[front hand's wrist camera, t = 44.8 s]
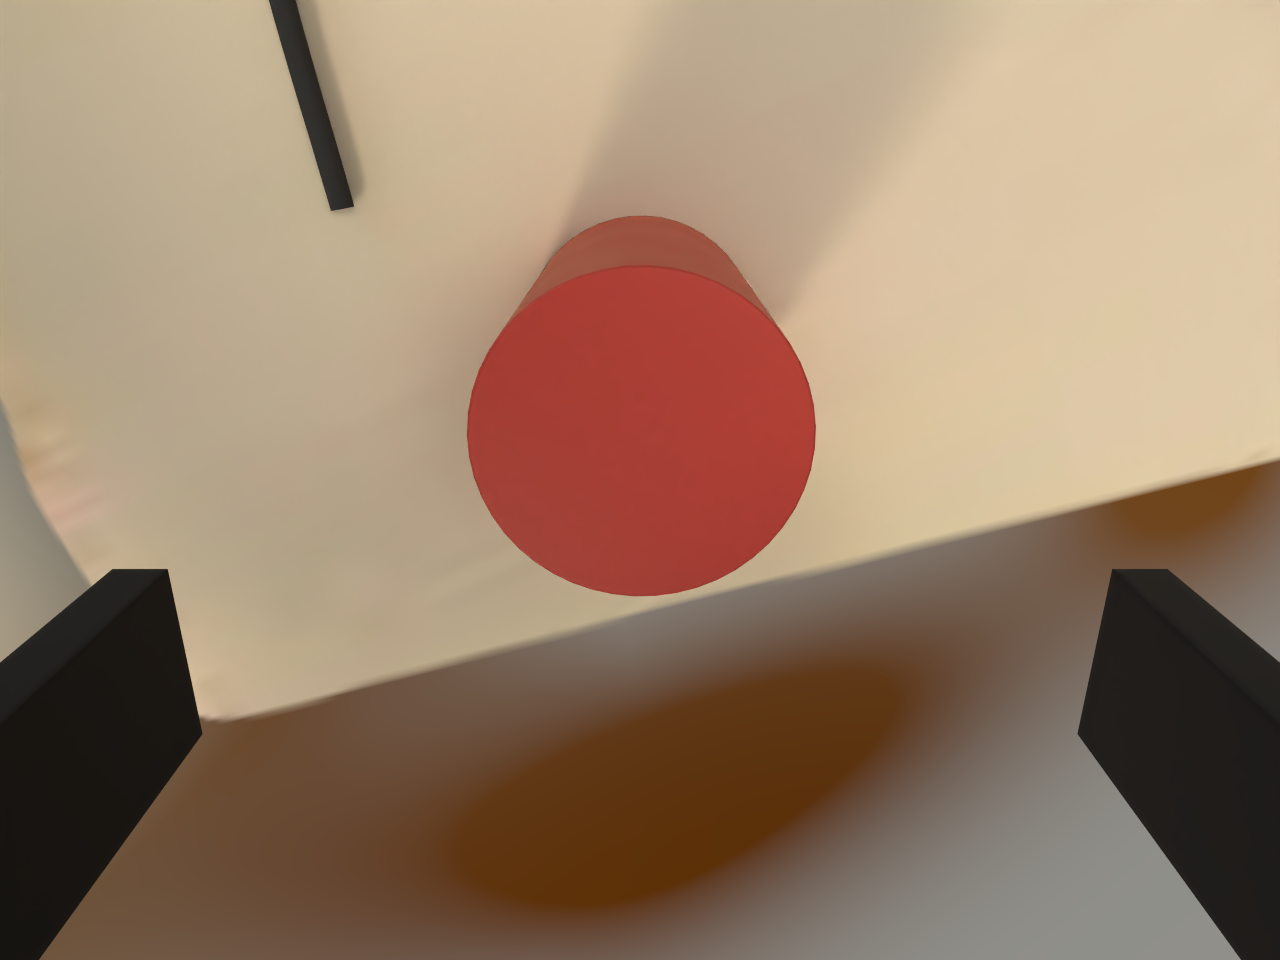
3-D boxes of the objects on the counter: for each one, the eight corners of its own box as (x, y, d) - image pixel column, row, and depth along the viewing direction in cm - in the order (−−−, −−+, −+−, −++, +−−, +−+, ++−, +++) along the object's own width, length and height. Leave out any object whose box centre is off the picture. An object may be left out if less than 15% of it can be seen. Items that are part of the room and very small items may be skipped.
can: (801, 318, 33) (889, 422, 21) (654, 482, 35) (661, 655, 23) (625, 164, 31) (617, 184, 19) (482, 347, 33) (397, 463, 22)
